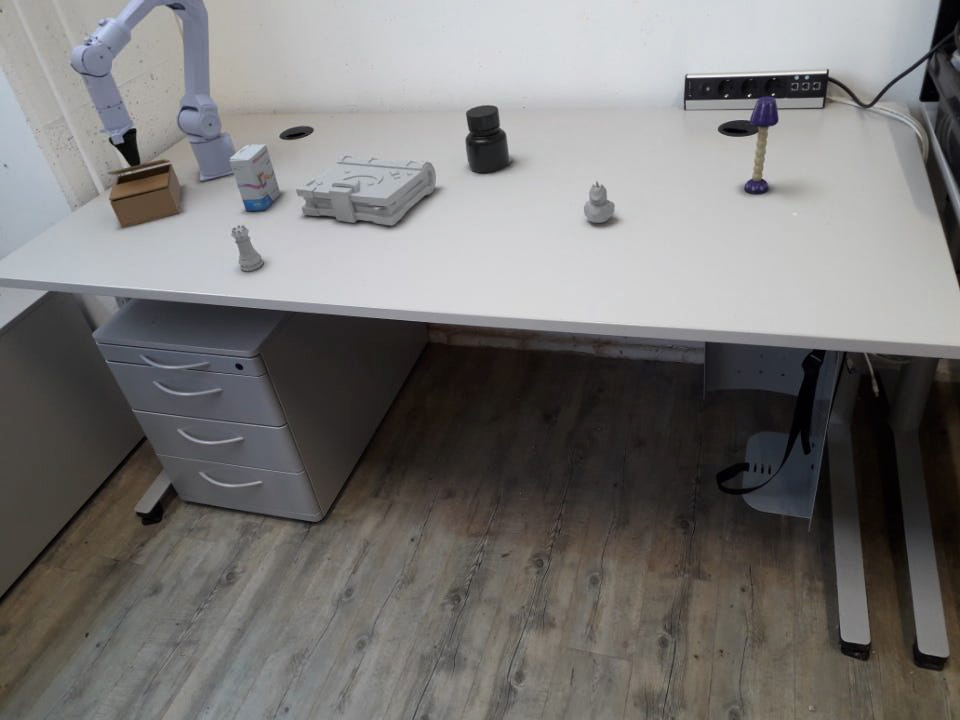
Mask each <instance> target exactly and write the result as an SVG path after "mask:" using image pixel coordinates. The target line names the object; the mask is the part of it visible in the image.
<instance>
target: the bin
mask: <svg viewBox="0 0 960 720" xmlns="http://www.w3.org/2000/svg"><path fill="white" fill-rule="evenodd" d="M164 187H167V188H165V189H161V190H157V191H154V190H156V189H160V188H164ZM181 193H182V185H181V183H180V181H179V179H178V176H177V173H176V171H175V169H174V167H173V163H167V164H163V165H158V166H154V167H152V168H151V167H150V168H146V169H142V170H138V171H134V172H129V173H127V174H126V173H125V174H121V175H119V176H118V175H117V176H116V179H115V183H114V185H112V186H111V191H110V193H109V196H108V200H109V201H110V202H109V203H110V206H111V207H112V210H113V212H114V214H115V216H116V218H117V220H118V222H119V224H120V227H121V228H125V227H130V226H133V225H134V226H135V225H138V224H141V223H142V224H143V223H146V222H151V221H154V220H157V219H161V218H167V217H170V216H174V215H178V214H180V208H181V207H180V205H181Z"/></svg>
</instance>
